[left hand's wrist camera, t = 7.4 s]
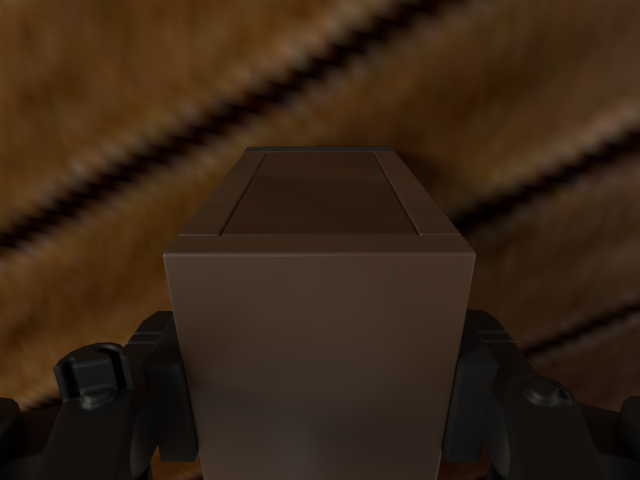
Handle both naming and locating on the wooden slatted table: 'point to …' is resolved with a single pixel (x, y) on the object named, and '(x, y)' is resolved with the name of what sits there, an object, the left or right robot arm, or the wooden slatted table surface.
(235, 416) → the cabinet
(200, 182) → the wooden slatted table surface
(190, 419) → the left robot arm
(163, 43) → the wooden slatted table surface
